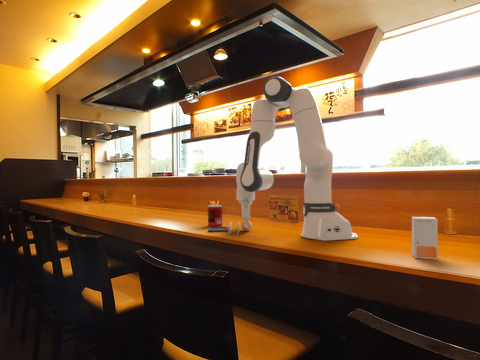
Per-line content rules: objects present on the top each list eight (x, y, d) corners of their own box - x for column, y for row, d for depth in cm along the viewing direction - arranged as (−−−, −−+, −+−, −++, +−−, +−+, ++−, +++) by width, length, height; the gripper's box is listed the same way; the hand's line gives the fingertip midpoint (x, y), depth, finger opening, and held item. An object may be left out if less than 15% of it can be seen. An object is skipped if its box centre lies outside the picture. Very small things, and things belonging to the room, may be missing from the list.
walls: (239, 228, 147) (239, 221, 147) (238, 234, 131) (238, 226, 131) (230, 228, 148) (230, 221, 148) (228, 234, 132) (228, 226, 132)
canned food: (223, 224, 161) (223, 204, 161) (221, 227, 153) (220, 206, 153) (209, 224, 162) (209, 204, 162) (206, 227, 154) (206, 206, 154)
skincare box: (414, 258, 86) (413, 218, 86) (411, 255, 90) (411, 216, 90) (438, 260, 84) (437, 218, 84) (434, 256, 88) (434, 216, 88)
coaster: (228, 228, 147) (228, 226, 147) (226, 231, 138) (226, 229, 138) (210, 229, 147) (210, 227, 147) (207, 232, 138) (207, 230, 138)
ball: (252, 230, 142) (251, 219, 142) (252, 231, 137) (252, 221, 137) (241, 230, 142) (241, 219, 142) (241, 232, 137) (241, 221, 137)
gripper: (252, 197, 129) (253, 229, 129) (251, 195, 149) (251, 222, 149) (238, 198, 129) (238, 229, 129) (239, 195, 150) (239, 222, 150)
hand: (245, 225), depth 139 cm, fingers open, 8 cm apart
